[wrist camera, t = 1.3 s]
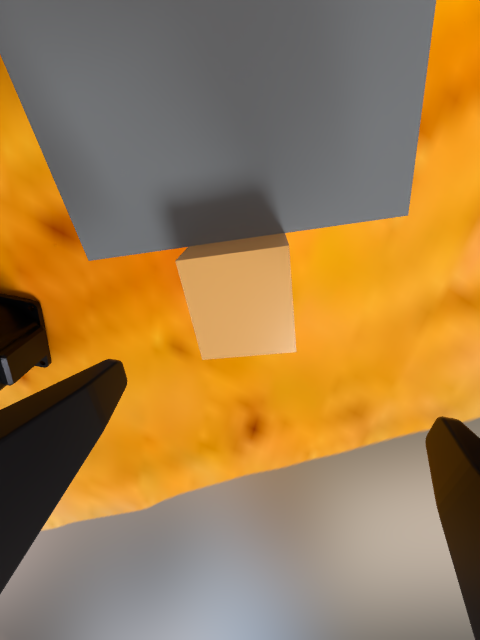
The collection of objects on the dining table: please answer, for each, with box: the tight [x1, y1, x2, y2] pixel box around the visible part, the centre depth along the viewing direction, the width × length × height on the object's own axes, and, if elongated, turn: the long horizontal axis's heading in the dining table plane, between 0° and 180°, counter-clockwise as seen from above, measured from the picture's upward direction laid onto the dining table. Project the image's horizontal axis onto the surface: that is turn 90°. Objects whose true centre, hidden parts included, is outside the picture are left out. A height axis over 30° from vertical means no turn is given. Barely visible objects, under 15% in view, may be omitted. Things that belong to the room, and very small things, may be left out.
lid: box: [0, 0, 436, 360], centre depth 9 cm, size 13×17×3 cm
